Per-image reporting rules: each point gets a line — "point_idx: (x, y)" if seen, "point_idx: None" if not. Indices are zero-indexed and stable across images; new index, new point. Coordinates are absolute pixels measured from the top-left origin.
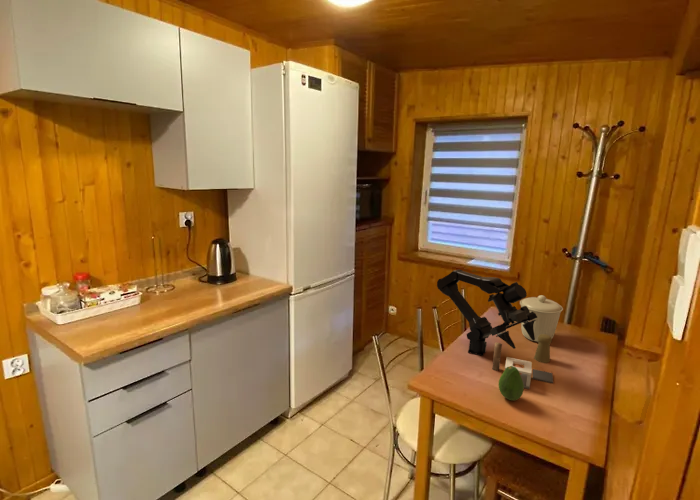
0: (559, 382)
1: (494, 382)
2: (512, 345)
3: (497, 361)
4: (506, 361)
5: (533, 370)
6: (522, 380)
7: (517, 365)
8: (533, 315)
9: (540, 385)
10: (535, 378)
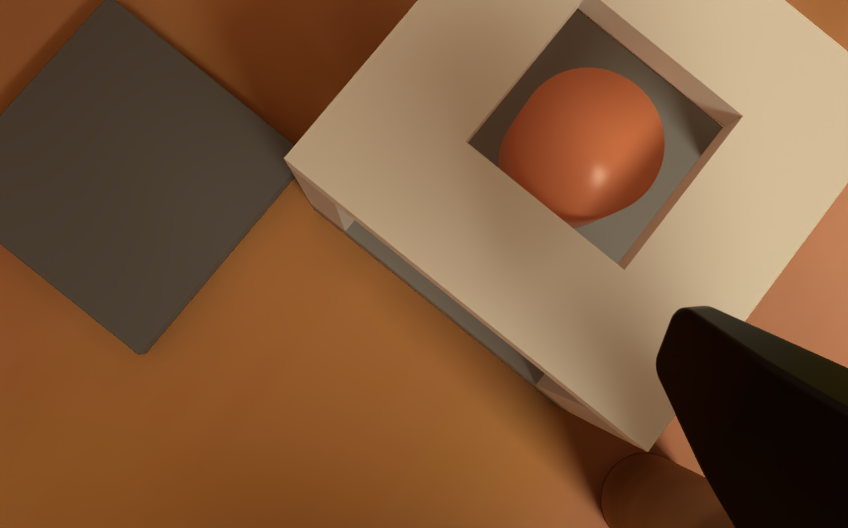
0: (6, 6)
1: (839, 208)
2: (802, 365)
3: None
4: (758, 285)
5: (160, 315)
6: (511, 104)
7: (571, 190)
8: None
9: (311, 10)
10: (279, 134)
